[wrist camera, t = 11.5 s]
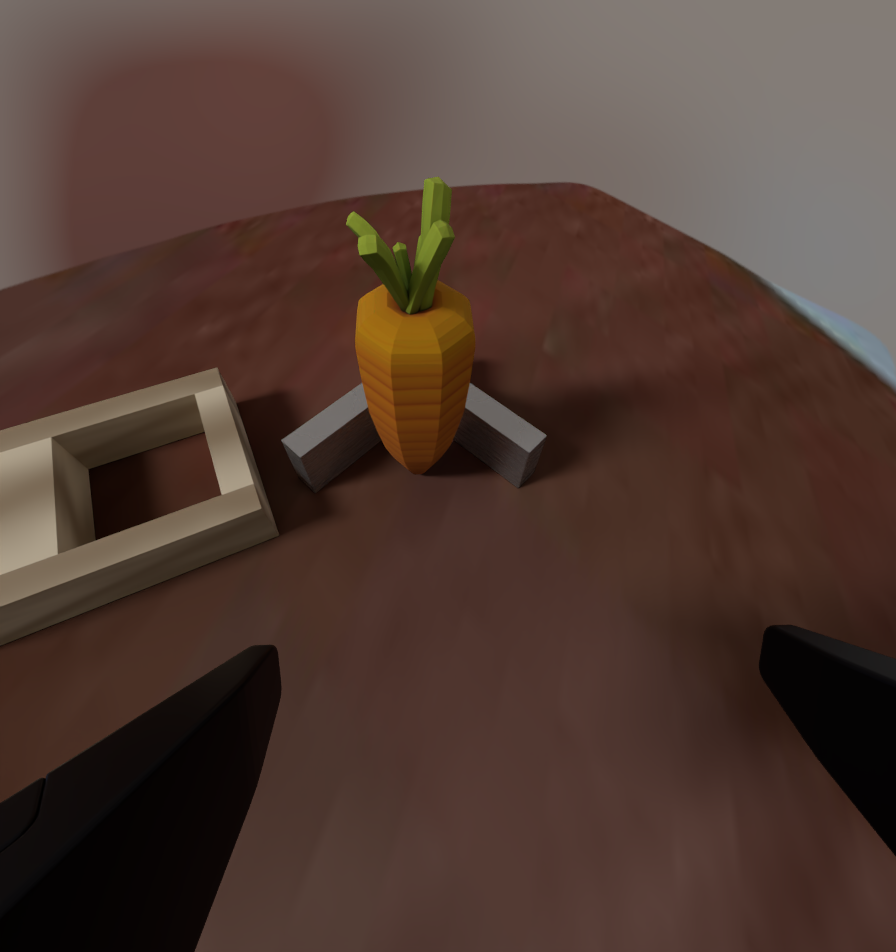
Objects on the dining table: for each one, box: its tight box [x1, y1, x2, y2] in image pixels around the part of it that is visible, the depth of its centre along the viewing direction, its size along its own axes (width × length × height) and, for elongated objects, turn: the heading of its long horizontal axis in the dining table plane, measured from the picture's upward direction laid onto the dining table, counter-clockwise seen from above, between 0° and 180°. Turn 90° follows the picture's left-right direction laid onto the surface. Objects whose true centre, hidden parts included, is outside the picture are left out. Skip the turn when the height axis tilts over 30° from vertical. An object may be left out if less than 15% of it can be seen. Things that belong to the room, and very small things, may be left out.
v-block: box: [281, 383, 547, 493], centre depth 27 cm, size 9×13×4 cm, turn 93°
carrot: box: [346, 177, 475, 474], centre depth 20 cm, size 5×5×15 cm
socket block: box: [0, 368, 279, 646], centre depth 23 cm, size 10×14×3 cm
